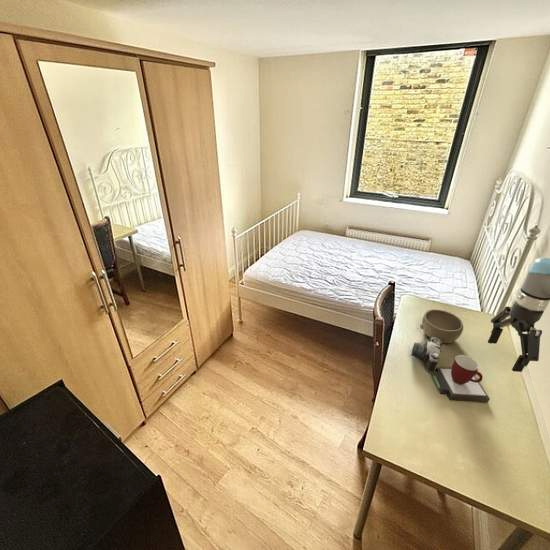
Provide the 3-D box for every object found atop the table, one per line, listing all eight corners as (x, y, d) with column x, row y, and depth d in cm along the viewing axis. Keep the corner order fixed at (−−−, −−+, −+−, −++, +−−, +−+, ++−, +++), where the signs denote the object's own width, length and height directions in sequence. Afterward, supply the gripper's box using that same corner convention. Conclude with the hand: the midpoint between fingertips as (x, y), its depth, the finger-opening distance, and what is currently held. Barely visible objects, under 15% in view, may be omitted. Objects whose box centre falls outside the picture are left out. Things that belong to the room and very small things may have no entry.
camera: (412, 344, 137) (417, 327, 133) (436, 351, 133) (443, 334, 129) (409, 366, 125) (415, 349, 120) (435, 375, 121) (442, 357, 116)
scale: (487, 403, 110) (490, 397, 109) (442, 399, 111) (445, 394, 109) (468, 374, 122) (471, 368, 121) (428, 371, 123) (430, 366, 122)
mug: (475, 379, 116) (485, 361, 111) (478, 394, 110) (488, 376, 105) (446, 370, 120) (454, 352, 115) (446, 384, 113) (455, 365, 109)
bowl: (413, 336, 142) (419, 320, 137) (424, 319, 154) (430, 304, 149) (452, 353, 132) (460, 336, 128) (461, 334, 144) (468, 318, 140)
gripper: (493, 285, 103) (473, 332, 113) (547, 330, 81) (516, 383, 91) (515, 285, 102) (493, 333, 112) (575, 331, 80) (541, 385, 90)
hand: (503, 356), depth 102 cm, fingers open, 13 cm apart
